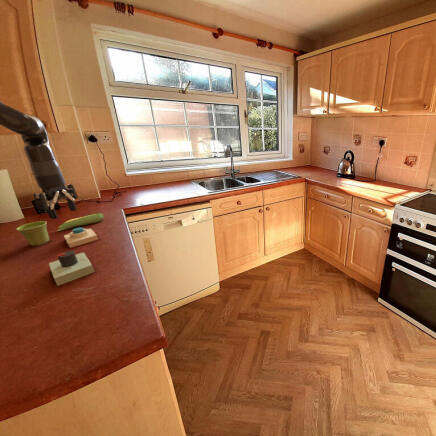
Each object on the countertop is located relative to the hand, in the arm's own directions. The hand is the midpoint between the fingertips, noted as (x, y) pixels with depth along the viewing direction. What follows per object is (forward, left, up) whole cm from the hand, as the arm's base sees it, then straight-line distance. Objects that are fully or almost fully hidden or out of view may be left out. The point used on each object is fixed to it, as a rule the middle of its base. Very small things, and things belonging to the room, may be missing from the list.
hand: (64, 214), depth 95 cm
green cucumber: (-20, +27, -16) cm, 38 cm away
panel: (+10, -16, -16) cm, 25 cm away
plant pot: (-24, +8, -16) cm, 30 cm away
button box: (-7, +10, -16) cm, 21 cm away
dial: (+10, -16, -13) cm, 23 cm away
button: (-7, +10, -13) cm, 18 cm away
